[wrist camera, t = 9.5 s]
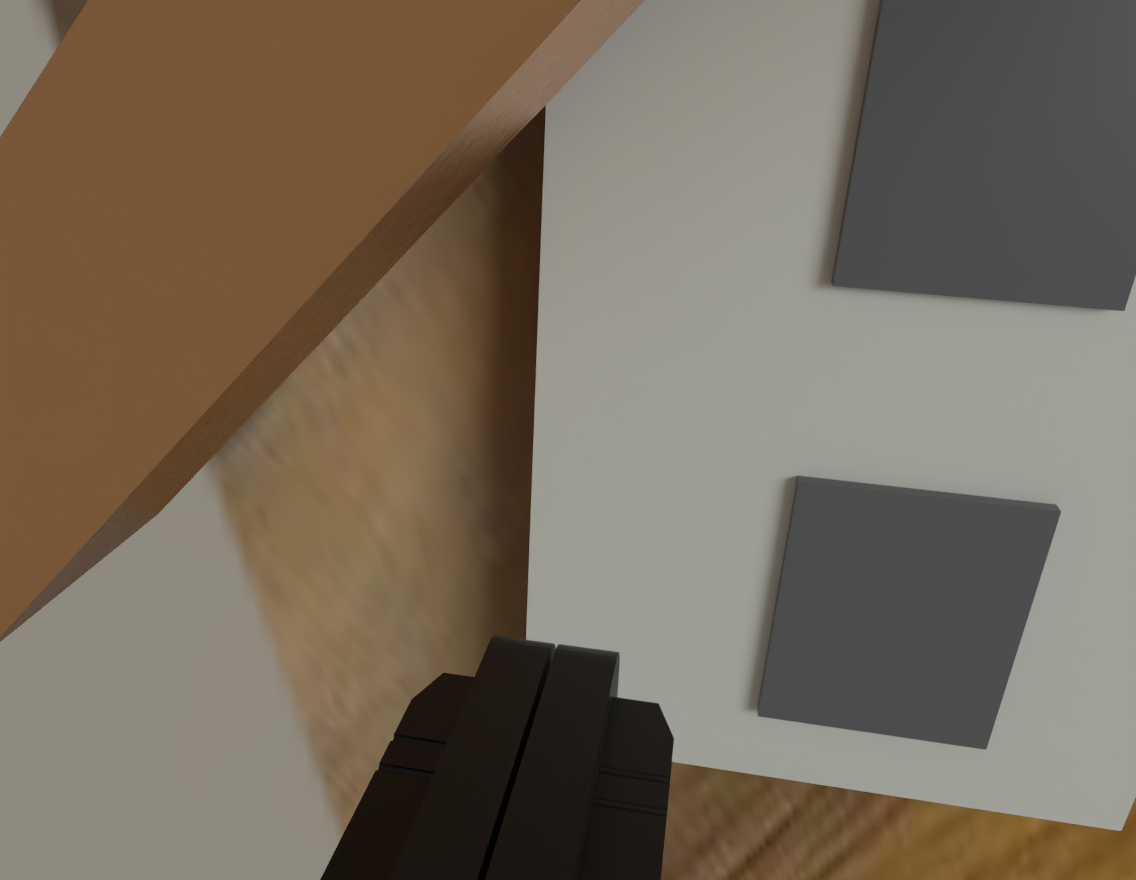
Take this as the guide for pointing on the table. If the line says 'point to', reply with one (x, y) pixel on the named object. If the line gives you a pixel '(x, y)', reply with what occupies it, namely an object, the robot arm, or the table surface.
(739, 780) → the table surface
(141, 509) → the swing arm
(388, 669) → the table surface
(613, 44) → the label board
